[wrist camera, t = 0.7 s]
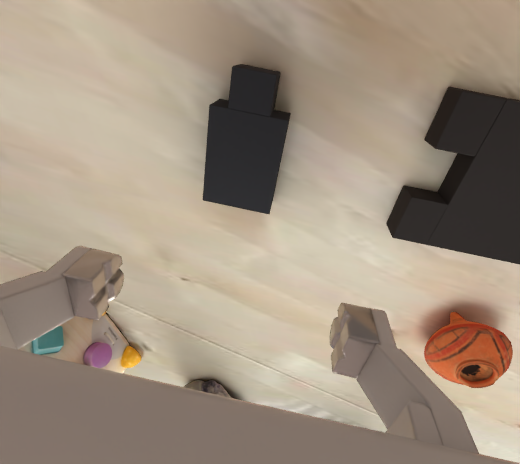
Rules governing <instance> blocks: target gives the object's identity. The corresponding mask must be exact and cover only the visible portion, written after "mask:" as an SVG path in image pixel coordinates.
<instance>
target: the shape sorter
mask: <svg viewBox="0 0 520 464" xmlns="http://www.w3.org/2000/svg"><path fill="white" fill-rule="evenodd" d="M18 350H21V351H26V352H30V353H34V354H39V355H43V356H48V357H52V358H56V359H61V360H65V361H70V362H74V363H79V364H83V365H87V366H92V367H96V368H101V369H105V370H110V371H114V372H118V373H123V372H124V370H125V369H126V368H130V367H133V366H135V365H137V364H138V363H139V362H140V361H141V356H140V354H139V353H138V352H137V351H136V350H135V349H134V348H132V347H131V346H129V343H128V342H127V340H126V339H125V337H124V336H123V335H122V334H121V332H120V331H119V330H118V328H117V327H116V326H115V324H114V323H113V322H112V321H111V319H110V318H109V317H108V316H107V314H106V311H105V312H104V314H103V315H102V316H101V317H100V319H99V320H93V319H88V318H82V317H77V316H74V318H72V319H70V320H68V321H67V322H65V323H63V324H61V325H60V326H58V327H56V328H54V329H53V330H51V331H49V332H47V333H46V334H44V335H42V336H40V337H38V338H37V339H35V340H33V341H31V342H30V343H28V344H26V345H24V346H23V347H21V348H19V349H18Z"/></svg>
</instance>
